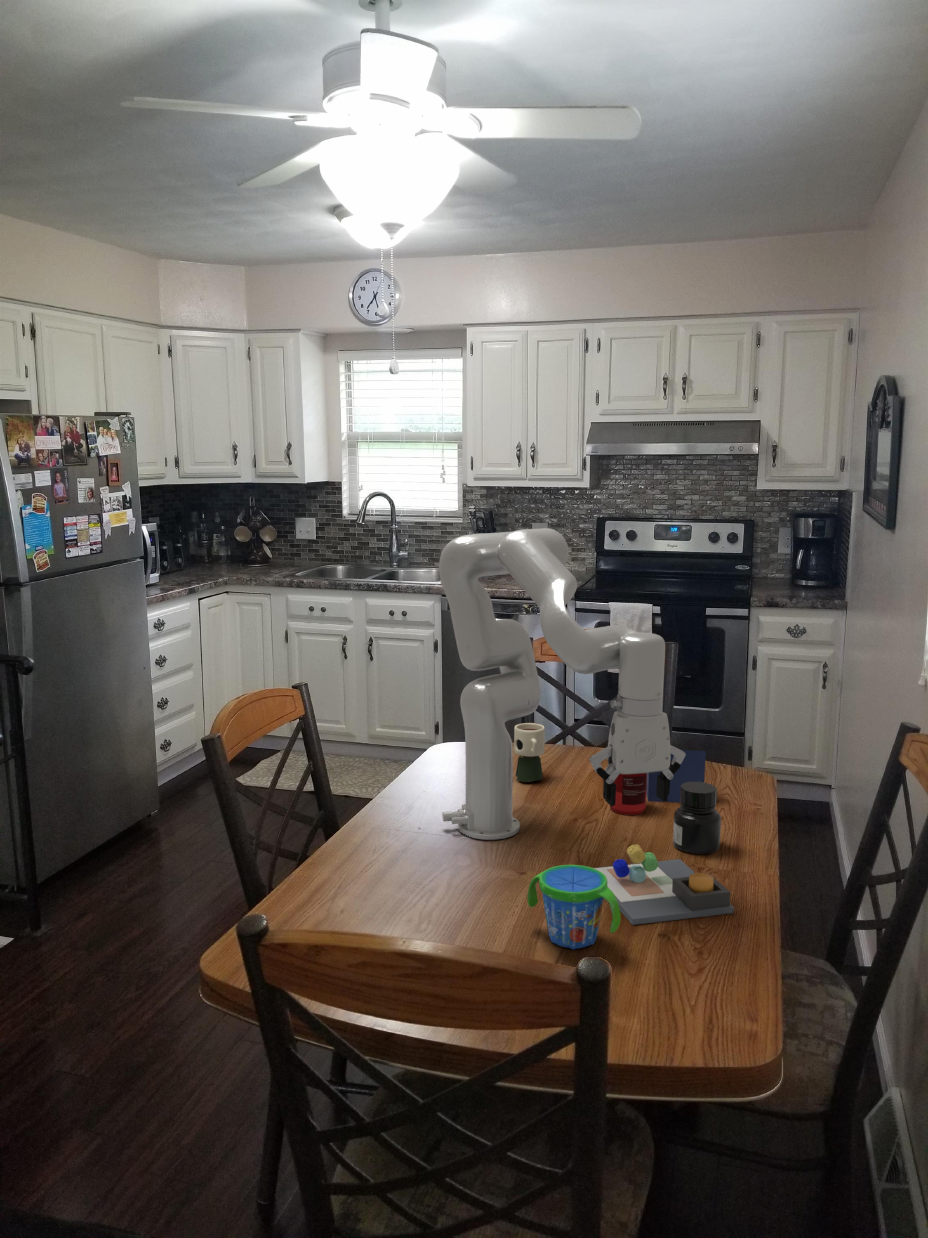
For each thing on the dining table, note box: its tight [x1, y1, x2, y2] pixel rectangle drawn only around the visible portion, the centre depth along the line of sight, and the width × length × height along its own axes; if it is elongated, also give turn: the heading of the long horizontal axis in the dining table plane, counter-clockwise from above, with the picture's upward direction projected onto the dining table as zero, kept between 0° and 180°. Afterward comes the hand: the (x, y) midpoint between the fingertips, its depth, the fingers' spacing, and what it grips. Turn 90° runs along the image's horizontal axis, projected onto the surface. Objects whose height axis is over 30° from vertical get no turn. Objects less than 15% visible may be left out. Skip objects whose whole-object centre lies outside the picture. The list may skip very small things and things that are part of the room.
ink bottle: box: [672, 781, 722, 855], centre depth 184 cm, size 10×9×12 cm
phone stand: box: [646, 749, 707, 804], centre depth 214 cm, size 12×12×12 cm
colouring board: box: [593, 858, 735, 926], centre depth 165 cm, size 18×20×4 cm
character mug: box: [513, 722, 546, 783], centre depth 222 cm, size 11×7×13 cm, turn 10°
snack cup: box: [526, 864, 622, 950], centre depth 148 cm, size 16×10×10 cm
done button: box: [689, 872, 715, 893], centre depth 160 cm, size 4×4×2 cm
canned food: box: [609, 773, 647, 816], centre depth 204 cm, size 8×8×11 cm
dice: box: [612, 843, 659, 883], centre depth 166 cm, size 8×3×6 cm, turn 98°
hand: (636, 801), depth 165 cm, fingers open, 9 cm apart
